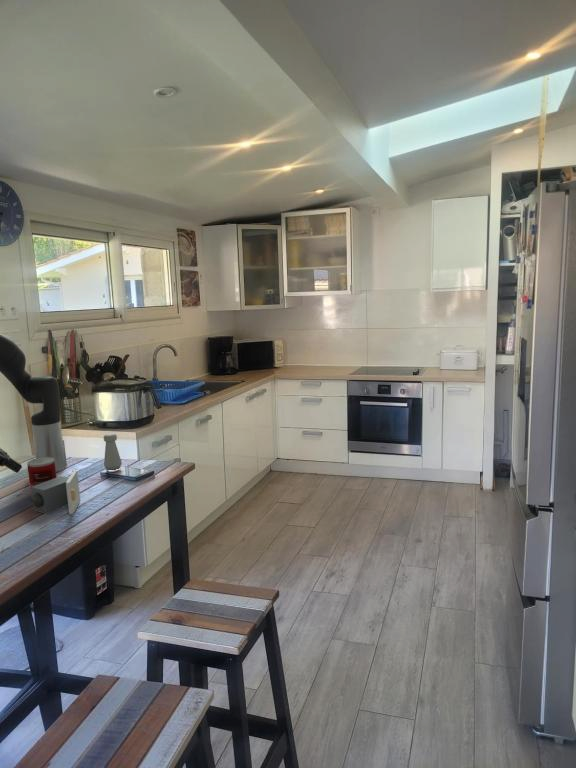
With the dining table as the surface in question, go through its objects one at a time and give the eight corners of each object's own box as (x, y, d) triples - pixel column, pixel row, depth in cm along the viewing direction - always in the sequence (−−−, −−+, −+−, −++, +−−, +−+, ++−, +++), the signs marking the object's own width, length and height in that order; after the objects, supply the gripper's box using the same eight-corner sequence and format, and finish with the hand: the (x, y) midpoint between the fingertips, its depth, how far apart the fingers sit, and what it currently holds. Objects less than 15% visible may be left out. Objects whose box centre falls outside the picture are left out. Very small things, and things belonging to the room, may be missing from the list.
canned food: (47, 488, 177) (43, 455, 176) (64, 492, 173) (60, 458, 171) (25, 497, 171) (21, 462, 169) (42, 501, 167) (37, 466, 165)
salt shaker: (125, 469, 194) (122, 432, 192) (112, 474, 189) (109, 437, 187) (114, 466, 197) (110, 431, 195) (101, 471, 192) (97, 435, 190)
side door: (76, 500, 165) (73, 471, 164) (83, 500, 166) (79, 470, 164) (69, 514, 155) (65, 482, 154) (76, 513, 156) (72, 482, 154)
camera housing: (66, 496, 170) (63, 467, 168) (80, 499, 167) (76, 470, 165) (31, 511, 160) (27, 480, 158) (44, 514, 157) (40, 483, 155)
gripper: (-30, 425, 137) (31, 464, 145) (-29, 416, 148) (27, 452, 156) (-52, 450, 135) (11, 488, 143) (-50, 438, 146) (8, 473, 154)
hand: (19, 469), depth 149 cm, fingers closed
